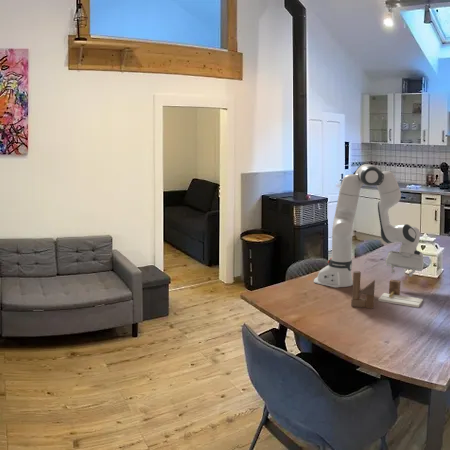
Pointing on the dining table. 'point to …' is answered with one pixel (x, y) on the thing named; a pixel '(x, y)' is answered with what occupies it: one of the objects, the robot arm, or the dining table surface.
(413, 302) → the board
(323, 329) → the dining table surface
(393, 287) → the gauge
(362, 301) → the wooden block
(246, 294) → the dining table surface
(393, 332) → the dining table surface
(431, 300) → the dining table surface
